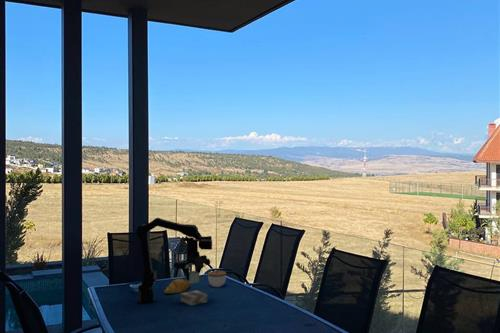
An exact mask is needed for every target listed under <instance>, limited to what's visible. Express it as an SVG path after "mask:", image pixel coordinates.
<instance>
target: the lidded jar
mask: <svg viewBox="0 0 500 333" xmlns="http://www.w3.org/2000/svg"><path fill="white" fill-rule="evenodd" d="M207 278H208V279H207V280H208V283H209V284H210V285H211V287H212V288H221V286H222V287H223V286H224V285H225V283H226V281H227V272H226V271H223V270H219V269H216V270H212V271H208V273H207Z"/></svg>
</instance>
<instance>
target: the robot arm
mask: <svg viewBox="0 0 500 333" xmlns="http://www.w3.org/2000/svg"><path fill="white" fill-rule="evenodd" d="M156 227H159V228H163V229H166V230H171V231H176V232H179V233H181V234H183V235H185V236H184V238H183V239H182V242H186V251H185V254H186V259H185V261H182V260H179V261H175V262H174V263H173V268H176V269H178V270H182V273H183V274H184V277H185V280H186V279H187V281H189V272H190V268H191V267H189V266H194V271H196V272H199V275H200V274H201V271H202V269H203V268H205V267H206V266H208V265H211V259H210V258H207V255H206V254H205V255H204V254H202V255H200V251H199V250H198V248H199V249H200V250H202V251H203V250H204V251H205V250H213V240H212V239H213V238H212V235H209V236H202V234H201V233H200V232H199V228H198V226H197V225H195V224H189V223H188V224H186V223H185V224H183V223H179V222H175V221H170V220H167V219H163V218H160V217H156V218H154V219H153V220H152V221H150V222H148V223H144V224H141V225H139V226H138V227H136V236H137V239H138V240H139V243H140V249H141V256H142V257H141V258H142V265H143V273H142V283H141V284H140V285H139V286H138V287H137V288H138V299H137V300H136V301H137V302H138V303H141V304H148V303H153V302H155V301H154V291H153V286H154V285H155V284H156V282H157V279H158V276H157V270H154V269H153V264H152V255H151V254H152V253H151V248H150V246H151V245H150V238H151V231H152V230H154V229H155V228H156Z"/></svg>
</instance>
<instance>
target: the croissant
mask: <svg viewBox="0 0 500 333" xmlns="http://www.w3.org/2000/svg"><path fill="white" fill-rule="evenodd" d="M190 287H191V284H190V283H188V282H186V279H183V278H176V279H174V280H172V281H171V282H170V283H169V284H168V286H167V287H165V288H166V289H164V291H163V292H164V294H167V295H168V294H171V295H172V294H181V293H185V292H186V291H187V290H189V288H190Z"/></svg>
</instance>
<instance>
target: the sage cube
mask: <svg viewBox="0 0 500 333" xmlns="http://www.w3.org/2000/svg"><path fill="white" fill-rule="evenodd" d="M185 281H186V282H188V283H190V285H191V284H196V283H200V274H199V272H196V271H195V270H191V271H190V270H189V281H187V279H186V278H185Z"/></svg>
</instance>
